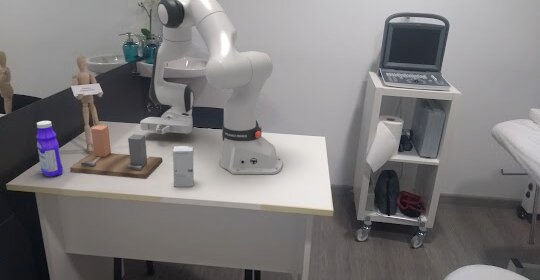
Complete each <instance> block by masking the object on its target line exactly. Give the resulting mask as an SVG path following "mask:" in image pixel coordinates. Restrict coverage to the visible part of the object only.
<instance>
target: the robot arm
mask: <svg viewBox="0 0 540 280" xmlns="http://www.w3.org/2000/svg"><path fill="white" fill-rule="evenodd" d="M156 10H157V16H158V19H159V21H160V23H161V24H162V42H161V45H160V44H159V45H158V46H157V48H156V49H155V51H154V56H153V62H152V70H151V71H152V72H151V77H150V78H151V79H150V80H151V81H150V85H149V90H148V97H149V99H150V100H151V102H152V103H153V104H155V105H166V106H170V108H169V109H167V110H166V111H165V112H163V114H162V115H161V116H160V117H157V116H148V117H146V118H143V119H141V120H140V122H139V124H140V125H139V126H140V129H141V130H142V131H148V132H149V131H150V132H151V131H152V132H155V134H158V135H159V134H161V135H165V134H166V133H175V134H190V133H191V132H192V131H193V125H194V124H193V115H192V112H193V107H194V105H195V92H194V90H193V88H192V87H191V86H190V85H189V84H184V83H183V84H182V83H177V82H169V81H166V80H165V79H164V73H165V66H166V64H167V63H170V62H173V61H178V60H180V59H184V57H186V56H188V55H189V54H190V52H191V51H192V47H193V30H192V29H193V28H192V27H195V28H196V30H197V32H198V33H199V35H200V37H201V38H202V40H203V42H204V44H205V46H206V48H207V51H208V55H209V58H208V61H207V63H206V66H205V70H204V73H205V74H204V75H205V78H206V81H207V83H208V84H209V85H210V86H211V87H212V88H214V89H217V90H232V92H230V95H229V96H228V97H227V98H226V100H225V101H224V103H223V125H222V128H221V138H222V141H223V142H222V150H221V154H220V155H221V156H220V159H219V161H218V162H219V163H218V164H219V166H220V167H221V168H223V169H225V170H228V171H229V173H231V175H232V174H233V175H276V174H278V173H280V171H282V169H283V165H284V164H283V158H282V157H280V156H279V155H277V150H276V147H275V145H274V144H272V143H271V142H270V141H269V140H267V139H266V138H264V137H263V136H262V134H263V133H262V126H261V125H260V127H259V125H257V109H258V102H259V98H260V95H261V92H262V91H263V90H262V89H263V87H264V85H265V83H266V82H267V80H268V79H269V78H270V77H271V75H272V73H273V68H274V67H273V61H272V59H271V57H270V56H269V55H268V54H267V53H265V52H262V51H255V50H250V51H243V52H241V51H240V52H239V51H238V50H237V49H236V47H235V43H236V41H237V38H238V32H237V29H236V28H235V26H234V25H233V23H232V21H231V19H230V18H229V16H228V15H227V13H226V12H225V10H224V8H223V7H222V6H221V4H220V3H219V2H218V1H217V0H159V2H158V5H157V9H156Z"/></svg>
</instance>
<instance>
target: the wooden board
mask: <svg viewBox="0 0 540 280" xmlns="http://www.w3.org/2000/svg"><path fill="white" fill-rule="evenodd" d="M162 162H163V157H160V156H159V157H158V156H150V155H147V163H146V164H145V165H144V166H143V167H142V166H137V165H131V163H130V154H125V153H115V152H113V153H112V152H111V153H110V154H108V155H107V156H106V157H103V156H95V155H94V151H91V152H90V153H89V154H87V155H86V156H85V157H82V158H81V159H80V160H79V161H77V162H76V163H74V164H73V165H72V166H70V168H69V170H70V172H71V173H79V174H80V173H81V174H92V175H102V176H113V177H125V178H135V179H148V178H149V177H150V175H151V174H152V173H153V172H155V170H156V169H157V167H159V166H160V164H162Z"/></svg>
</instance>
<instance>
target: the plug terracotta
mask: <svg viewBox="0 0 540 280" xmlns="http://www.w3.org/2000/svg"><path fill="white" fill-rule="evenodd" d="M90 129H91V130H90V131H91V138H92V144H93V145H92V147H93V152H94V155H95V156H103V157H106V156H107V155H108V154H110V153H112V148H111V140H110V130H109V126H108V125H99V124H97V125H95V126H93V127H91V128H90Z"/></svg>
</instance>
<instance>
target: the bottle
mask: <svg viewBox="0 0 540 280" xmlns="http://www.w3.org/2000/svg"><path fill="white" fill-rule="evenodd" d="M36 129H37V134H36V136H35V138H36V139H37V142H36V147H37V151H38V152H37V153H38V157H39V163H40V170H41V172H42V174H43V175H45V176H47V177H49V178H50V177H55V176H59V175H61V174H62V173H63V171H64V169H63V168H64V167H63V164H62V158H61V151H60V145H59V141H58V140H57V138H56V137H57V133H56V132H55V131H54V129H53V124H52V121H50V120H42V121H38V122H36Z"/></svg>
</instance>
